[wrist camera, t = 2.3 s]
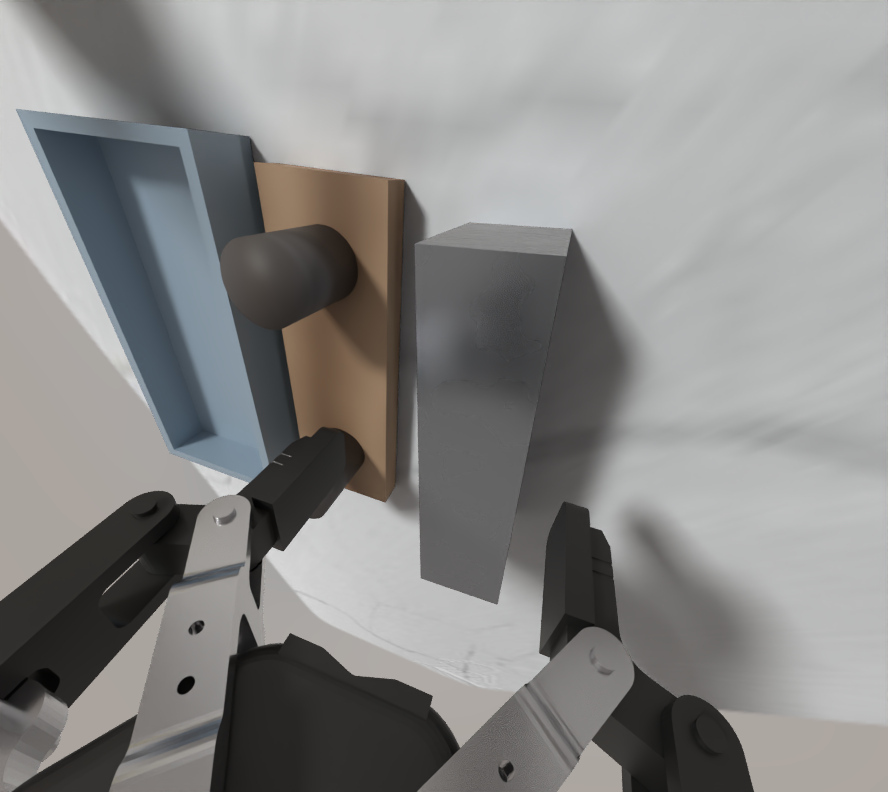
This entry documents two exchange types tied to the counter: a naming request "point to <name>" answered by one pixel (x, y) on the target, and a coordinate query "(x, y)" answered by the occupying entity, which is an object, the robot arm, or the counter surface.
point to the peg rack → (331, 306)
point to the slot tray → (174, 278)
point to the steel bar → (479, 389)
